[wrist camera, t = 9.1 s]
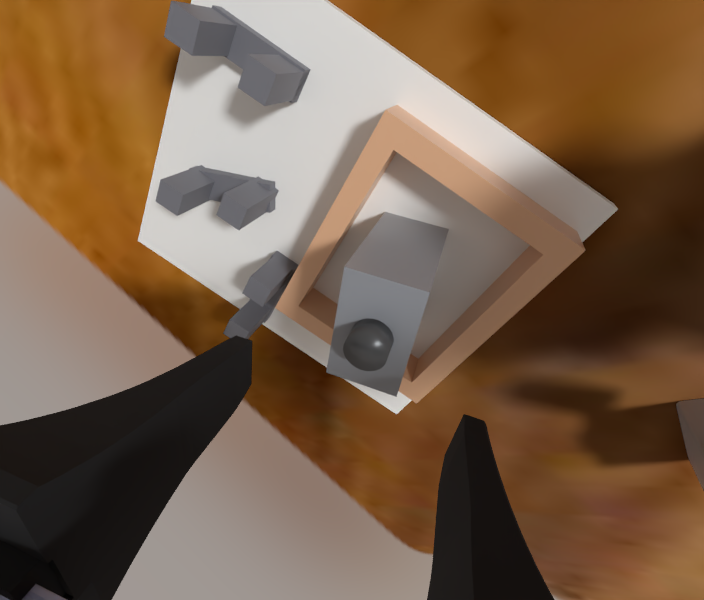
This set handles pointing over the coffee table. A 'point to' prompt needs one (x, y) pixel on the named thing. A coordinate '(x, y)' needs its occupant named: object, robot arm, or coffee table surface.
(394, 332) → the block
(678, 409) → the lighter
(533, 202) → the frame
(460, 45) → the coffee table surface
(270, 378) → the coffee table surface
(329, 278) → the board
